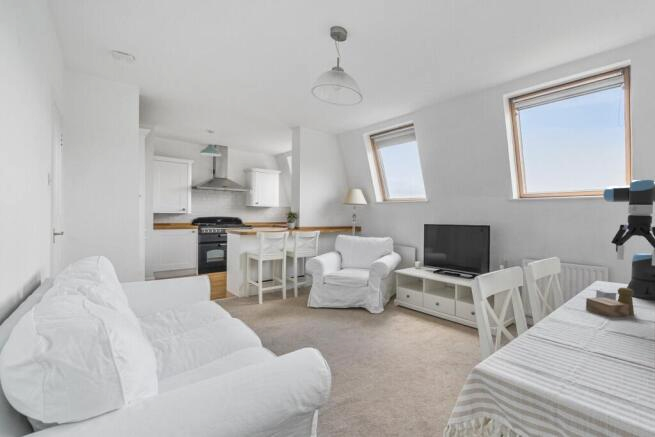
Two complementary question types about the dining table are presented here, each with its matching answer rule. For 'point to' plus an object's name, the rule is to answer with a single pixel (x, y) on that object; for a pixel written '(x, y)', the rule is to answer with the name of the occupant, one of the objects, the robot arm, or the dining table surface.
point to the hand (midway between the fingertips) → (636, 262)
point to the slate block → (605, 294)
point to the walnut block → (607, 307)
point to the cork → (626, 298)
